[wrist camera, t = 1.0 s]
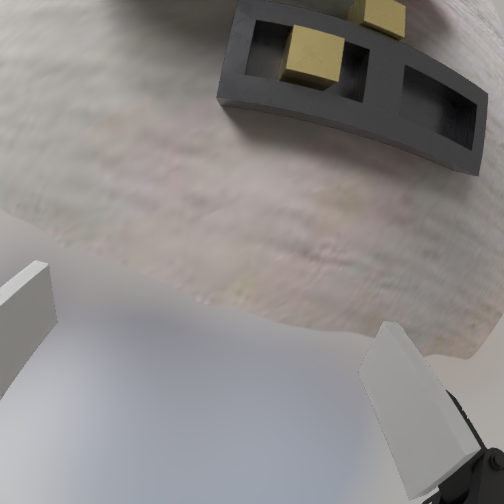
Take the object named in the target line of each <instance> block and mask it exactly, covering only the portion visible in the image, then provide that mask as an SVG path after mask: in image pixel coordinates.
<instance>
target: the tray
mask: <svg viewBox="0 0 504 504" xmlns="http://www.w3.org/2000/svg"><path fill="white" fill-rule="evenodd" d="M294 25H298V26H302V27H306V28H310V29H314V30H318V31H321V32H325V33H328V34H332V35H335V36H338V37H341V38H344V39H345V40H344V47H343V55H342V61H341V68H340V75H339V81H338V82H337V83H336V84H334V85H332V86H331V87H329V88H327V89H326V90H324V91H320V90H316V89H312V88H308V87H304V86H300V85H295V84H291V83H286V82H281V81H278V76H279V71H280V66H281V60H282V55H283V50H284V45H285V43H286V41H287V39H288V37H289V34H290V32H291V30H292V28H293V26H294ZM216 98H217V100H218V102H219V104H220V105H221V106H229V107H236V108H243V109H249V110H255V111H261V112H266V113H271V114H277V115H282V116H286V117H291V118H296V119H300V120H305V121H309V122H313V123H317V124H321V125H325V126H329V127H333V128H336V129H340V130H343V131H347V132H350V133H354V134H357V135H360V136H364V137H367V138H370V139H373V140H376V141H379V142H382V143H385V144H388V145H391V146H394V147H397V148H399V149H402V150H405V151H407V152H410V153H413V154H415V155H418V156H420V157H423V158H425V159H428V160H430V161H433V162H435V163H438V164H440V165H442V166H444V167H447V168H449V169H451V170H453V171H457V172H462V173H466V174H470V175H474V176H478V175H479V170H480V165H481V159H482V152H483V146H484V138H485V129H486V119H487V106H488V93H486V92H485V91H483V90H482V89H481V88H479V87H478V86H476V85H475V84H474V83H472V82H471V81H469V80H468V79H466V78H465V77H463V76H461V75H460V74H458V73H457V72H455V71H454V70H452V69H450V68H449V67H447V66H445V65H444V64H442V63H440V62H438V61H437V60H435V59H433V58H431V57H429V56H428V55H426V54H424V53H422V52H420V51H418V50H416V49H414V48H412V47H410V46H408V45H406V44H404V43H402V42H399V41H397V40H395V39H393V38H390V37H388V36H386V35H383V34H381V33H379V32H376V31H374V30H371V29H369V28H366V27H363V26H360V25H358V24H355V23H352V22H349V21H346V20H343V19H340V18H337V17H334V16H330V15H327V14H323V13H320V12H316V11H312V10H308V9H304V8H300V7H296V6H291V5H286V4H282V3H276V2H271V1H265V0H238V4H237V7H236V11H235V15H234V19H233V23H232V28H231V32H230V36H229V40H228V45H227V49H226V54H225V58H224V63H223V67H222V72H221V77H220V82H219V87H218V92H217V97H216Z"/></svg>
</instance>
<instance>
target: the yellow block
mask: <svg viewBox="0 0 504 504" xmlns="http://www.w3.org/2000/svg"><path fill="white" fill-rule="evenodd" d="M405 8H406V6H404V5H402V4H400V3H398V2H396V1H394V0H356V1H355V2H354V3H353V5H352V6H351V7H350V8H349V9H348V14H347V21H349V22H352V23H355V24H358V25H360V26H363V27H366V28H369V29H371V30H374V31H376V32H379V33H381V34H383V35H386V36H388V37H390V38H393V39H395V40H397V41H399V40H401V39H403V38H405Z"/></svg>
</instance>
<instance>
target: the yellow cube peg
mask: <svg viewBox="0 0 504 504" xmlns="http://www.w3.org/2000/svg"><path fill="white" fill-rule="evenodd" d="M344 40H345V39H344V38H341V37H338V36H335V35H332V34H328V33H325V32H321V31H318V30H314V29H310V28H306V27H302V26H298V25H294V26H293V28H292V30H291V32H290V34H289V37H288V39H287V41H286V43H285V45H284V50H283V55H282V60H281V66H280V71H279V76H278V81H281V82H286V83H291V84H295V85H300V86H304V87H308V88H312V89H316V90H320V91H324V90H326V89H327V88H329V87H331V86H332V85H334V84H336V83H337V82H338V81H339V75H340V68H341V61H342V55H343V47H344Z"/></svg>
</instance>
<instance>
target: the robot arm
mask: <svg viewBox="0 0 504 504" xmlns="http://www.w3.org/2000/svg"><path fill="white" fill-rule="evenodd" d="M57 322H58V321H57V316H56V310H55V304H54V298H53V291H52V284H51V275H50V267H49V264H47V263H43V262H39V261H36V260H35V261H34V262H32V263H31V264H30V265H28V266H27V267H26V268H25V269H23V270H22V271H21V272H19V273H18V274H17V275H15V277H13V278H12V279H11V280H9V281H8V282H7V283H5V284H4V285H3V286H2V287H1V288H0V400H1V398H2V397H3V396H4V394H5V392H6V391H7V389H8V388H9V387H10V385H11V383H12V382H13V381H14V379H15V378H16V376H17V375H18V374H19V372H20V371H21V369H22V367H24V365H25V364H26V362H27V361H28V360H29V358H30V357H31V356H32V354H33V353H34V352H35V350H36V349H37V348H38V346H39V345H40V344H41V342H42V341H43V340H44V339H45V337H46V336H47V335H48V334H49V332H50V331H51V330H52V328H53V327H54V326H55V325H56V324H57ZM358 374H359V376H360V379H361V381H362V383H363V386H364V388H365V390H366V392H367V395H368V397H369V399H370V402H371V404H372V406H373V409H374V411H375V414H376V416H377V418H378V421H379V423H380V426H381V428H382V431H383V433H384V435H385V438H386V440H387V443H388V445H389V448H390V450H391V453H392V456H393V458H394V461H395V463H396V466H397V468H398V471H399V473H400V477H401V479H402V482H403V485H404V487H405V490H406V493H407V496H408V498H409V500H412V499H415V498H418V497H421V496H423V495H426V494H428V493H429V492H430V491H431V490H433V489H434V488H436V487H437V486H438V488H439V491H438V492H437V493H435V494H434V495H432V496H431V497H430V498H428V499H427V500H425V501H424V502H423V503H422V504H429V503H430V502H432V504H504V453H503V452H502V451H501V450H499V449H497V448H490V449H487V448H486V447H485V445H484V443H483V442H482V440H481V438H480V437H479V435H478V433H477V431H476V430H475V428H474V427H473V425H472V423H471V422H470V420H469V419H467V415H466V414H465V412H464V411H462V407H461V406H460V404H459V403H458V401H457V400H456V398H455V397H454V396H453V395H452V394H450V393H449V392H448V391H447V390H445V389H444V387H443V386H442V384H441V382H440V381H439V379H438V378H437V377H436V375H435V374H434V372H433V371H432V369H431V368H430V366H429V365H428V363H427V362H426V360H425V359H424V358H423V356H422V355H421V353H420V352H419V351H418V349H417V348H416V346H415V345H414V344H413V342H412V341H411V339H410V338H409V337H408V335H407V334H406V333H405V331H404V330H403V329H402V327H401V326H400V324H399V323H398V322H389V321H383V322H382V324H381V327H380V329H379V331H378V333H377V335H376V337H375V339H374V341H373V343H372V345H371V347H370V349H369V351H368V353H367V355H366V357H365V358H364V360H363V362H362V364H361V366H360V368H359V370H358Z"/></svg>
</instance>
